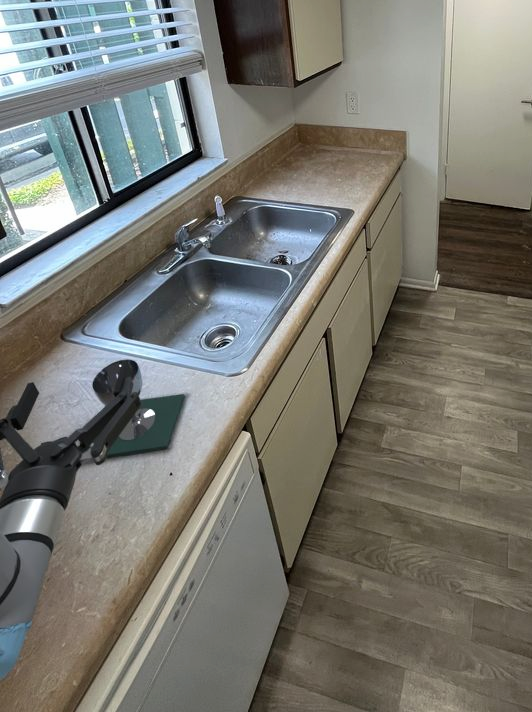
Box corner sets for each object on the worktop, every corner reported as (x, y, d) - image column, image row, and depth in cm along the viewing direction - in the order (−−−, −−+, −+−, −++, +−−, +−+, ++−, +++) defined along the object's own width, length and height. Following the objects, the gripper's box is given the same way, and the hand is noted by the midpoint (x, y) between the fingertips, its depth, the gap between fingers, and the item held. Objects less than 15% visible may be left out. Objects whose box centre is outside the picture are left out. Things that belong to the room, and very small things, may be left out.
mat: (83, 461, 87) (81, 458, 87) (110, 406, 98) (108, 403, 98) (167, 448, 90) (166, 445, 89) (185, 396, 100) (184, 393, 100)
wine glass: (111, 448, 89) (87, 399, 82) (119, 414, 95) (97, 366, 89) (155, 434, 91) (135, 385, 85) (159, 401, 98) (141, 354, 91)
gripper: (-80, 567, 54) (1, 413, 72) (147, 495, 61) (168, 371, 79) (-112, 535, 50) (-19, 382, 68) (132, 462, 57) (158, 341, 75)
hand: (81, 376), depth 74 cm, fingers open, 13 cm apart
